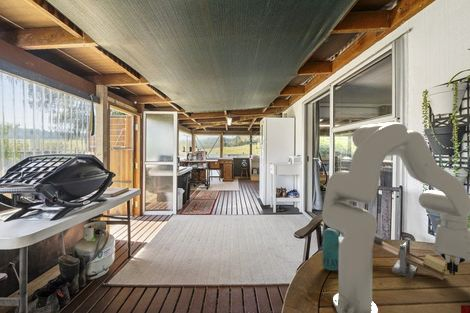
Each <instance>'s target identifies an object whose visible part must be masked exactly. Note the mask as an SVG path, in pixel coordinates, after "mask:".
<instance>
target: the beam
mask: <svg viewBox="0 0 470 313" xmlns="http://www.w3.org/2000/svg"><path fill="white" fill-rule="evenodd" d="M384 238H385V236H384V235H381V234H380V233H377V232H376V234H375V238H374V243H373V248H376V249H378V250H379V251H382V252H384V253H386V254H387V255H390V256H392V257H394V258H397V260H400V248H397V247H396V246H393V245H390V244H389V243H387V242H384ZM404 243H405V242H403V243H402V245H403V244H404ZM408 245H409V244H407V245H406V263H408V264H410V265H413V266H415V267H417V269H419V270H421V271H423V272H426V273H427V274H428V275H431V276H434V277H435V278H437V279H439V280H442V281H443V280H444V278H445V274H446V270H447V268H444V269H443V272H442V274H441V273H439V272H437V271H435V270H432V269H430V268H428V267H426V266H424V265H422V264H423V261H424V259H425V258H422V257H420V256H418V255H415V254H413V253H411V252H410V253H409V252H407V248H408Z"/></svg>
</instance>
